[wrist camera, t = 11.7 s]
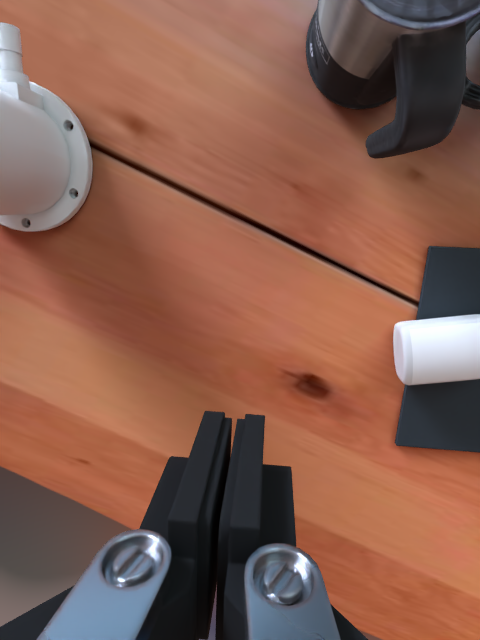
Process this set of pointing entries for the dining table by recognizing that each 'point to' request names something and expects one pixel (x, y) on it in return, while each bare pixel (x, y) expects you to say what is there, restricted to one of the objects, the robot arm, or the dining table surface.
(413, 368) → the eye dropper bottle
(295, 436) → the dining table surface
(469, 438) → the mat
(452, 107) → the milk frother
